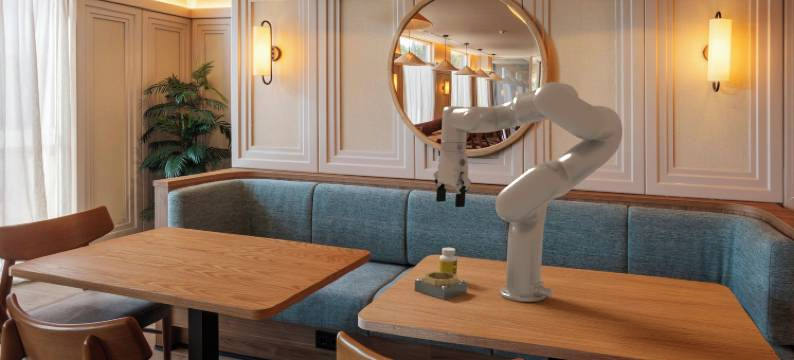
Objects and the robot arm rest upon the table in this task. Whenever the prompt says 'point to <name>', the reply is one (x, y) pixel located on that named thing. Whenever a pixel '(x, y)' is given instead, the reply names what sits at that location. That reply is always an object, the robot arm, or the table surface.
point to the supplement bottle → (448, 261)
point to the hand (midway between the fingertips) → (450, 204)
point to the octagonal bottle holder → (441, 285)
